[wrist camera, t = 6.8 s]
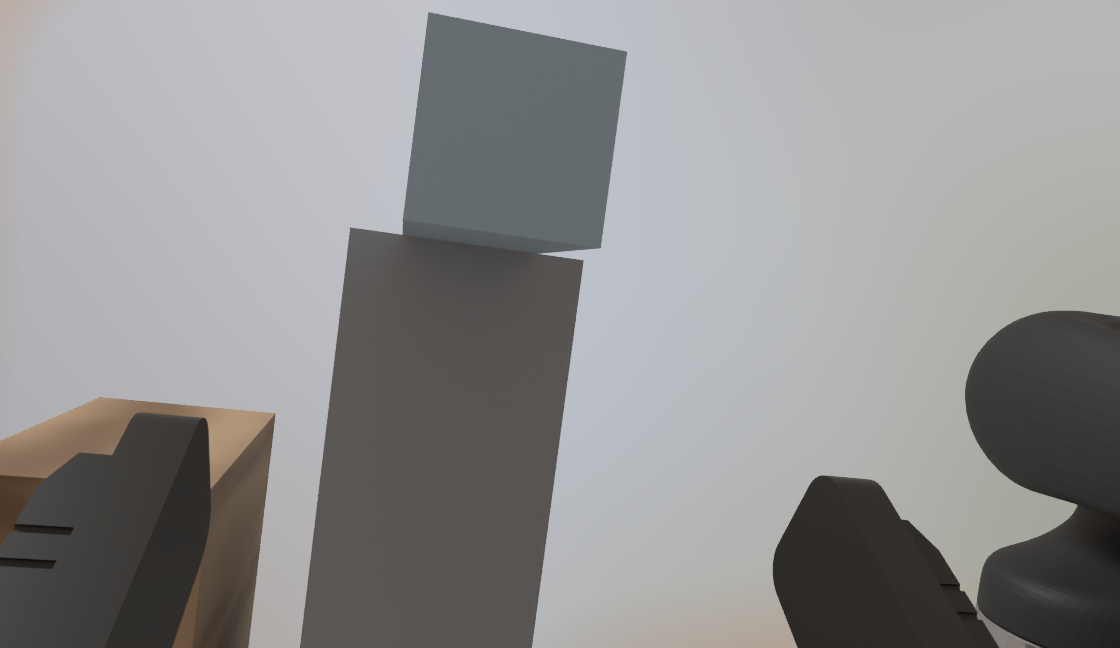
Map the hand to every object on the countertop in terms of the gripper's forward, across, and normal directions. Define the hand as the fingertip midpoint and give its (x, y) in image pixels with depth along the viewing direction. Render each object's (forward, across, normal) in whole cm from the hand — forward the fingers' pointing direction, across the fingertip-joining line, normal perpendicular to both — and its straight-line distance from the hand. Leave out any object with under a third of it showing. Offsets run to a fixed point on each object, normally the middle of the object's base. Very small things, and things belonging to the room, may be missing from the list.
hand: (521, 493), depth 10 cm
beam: (+16, 0, +5) cm, 17 cm away
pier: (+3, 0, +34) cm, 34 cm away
